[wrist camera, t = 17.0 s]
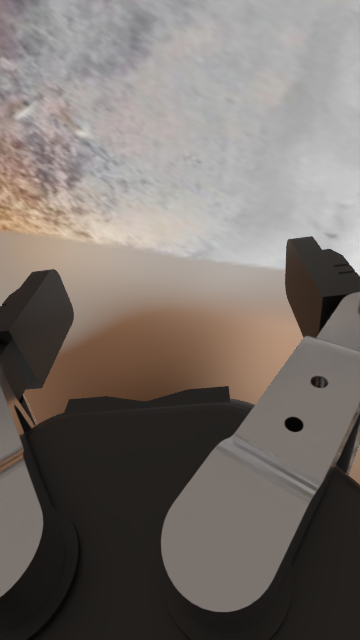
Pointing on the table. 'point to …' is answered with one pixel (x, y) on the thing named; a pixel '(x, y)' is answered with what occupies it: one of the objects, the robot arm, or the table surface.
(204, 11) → the table surface
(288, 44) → the table surface
